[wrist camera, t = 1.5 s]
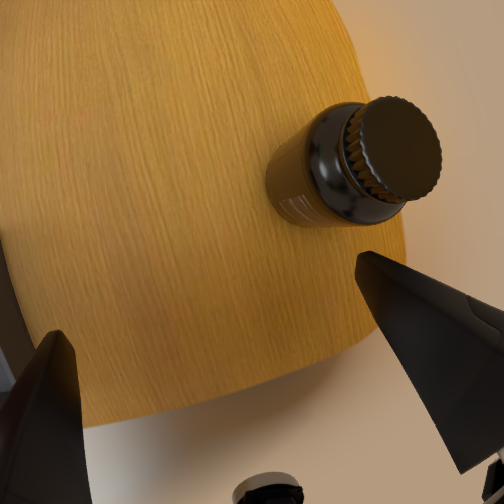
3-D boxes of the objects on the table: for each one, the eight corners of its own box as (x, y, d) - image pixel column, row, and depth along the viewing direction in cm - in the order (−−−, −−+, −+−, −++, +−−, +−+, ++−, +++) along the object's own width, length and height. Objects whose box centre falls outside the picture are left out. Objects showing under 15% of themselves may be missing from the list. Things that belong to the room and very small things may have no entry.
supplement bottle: (359, 207, 25) (472, 197, 13) (285, 242, 24) (375, 255, 12) (326, 128, 24) (421, 67, 12) (248, 156, 23) (307, 91, 11)
